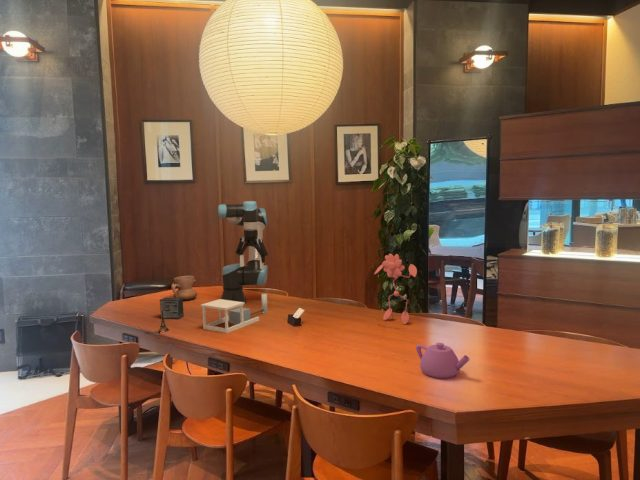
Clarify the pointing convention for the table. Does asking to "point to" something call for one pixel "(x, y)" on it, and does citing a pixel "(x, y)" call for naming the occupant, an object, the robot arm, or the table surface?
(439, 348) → the teapot
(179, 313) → the small box
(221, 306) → the frame
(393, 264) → the pink flower figurine
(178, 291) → the ceramic jug
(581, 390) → the table surface
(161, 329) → the eiffel tower figurine
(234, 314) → the block
